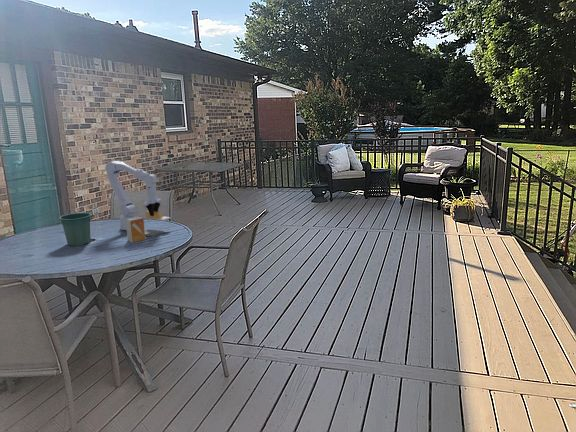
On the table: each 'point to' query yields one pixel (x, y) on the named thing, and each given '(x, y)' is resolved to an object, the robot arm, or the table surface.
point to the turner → (156, 216)
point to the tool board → (152, 232)
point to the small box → (135, 229)
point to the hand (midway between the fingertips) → (153, 215)
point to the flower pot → (76, 228)
